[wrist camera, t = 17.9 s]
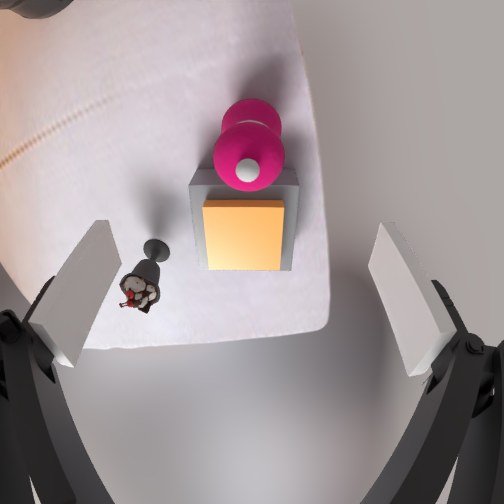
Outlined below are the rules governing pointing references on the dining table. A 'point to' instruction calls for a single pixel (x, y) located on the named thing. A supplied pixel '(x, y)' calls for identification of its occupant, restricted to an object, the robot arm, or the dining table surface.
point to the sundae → (145, 278)
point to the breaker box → (214, 188)
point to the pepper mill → (249, 146)
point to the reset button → (243, 234)
